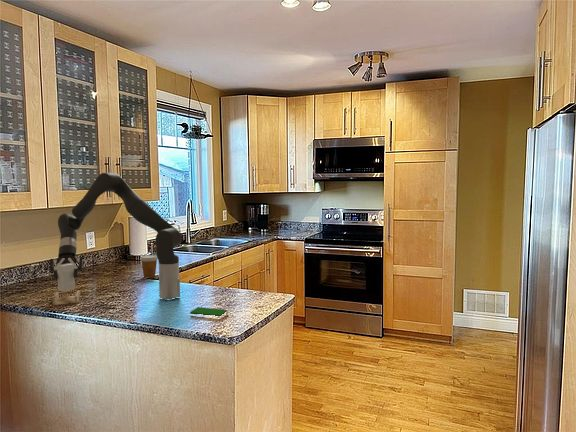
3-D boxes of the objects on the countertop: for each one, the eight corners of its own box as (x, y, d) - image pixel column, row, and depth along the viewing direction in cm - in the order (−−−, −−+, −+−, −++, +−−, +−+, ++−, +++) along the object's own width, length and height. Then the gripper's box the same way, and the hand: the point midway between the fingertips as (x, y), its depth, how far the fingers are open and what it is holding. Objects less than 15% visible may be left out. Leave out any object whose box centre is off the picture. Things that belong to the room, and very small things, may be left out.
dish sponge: (197, 312, 177) (197, 306, 177) (227, 315, 173) (227, 309, 173) (189, 317, 170) (189, 312, 170) (220, 321, 166) (220, 315, 166)
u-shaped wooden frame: (80, 296, 198) (79, 290, 197) (77, 302, 188) (77, 296, 187) (56, 298, 194) (56, 292, 194) (52, 305, 184) (52, 298, 184)
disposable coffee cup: (160, 275, 241) (160, 254, 240) (153, 279, 231) (153, 258, 230) (145, 274, 242) (144, 254, 241) (137, 278, 232) (137, 257, 231)
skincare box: (70, 287, 195) (69, 262, 194) (75, 288, 193) (74, 263, 191) (57, 290, 190) (56, 265, 188) (62, 292, 187) (61, 266, 186)
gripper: (49, 245, 193) (46, 275, 184) (83, 243, 198) (82, 272, 189) (52, 254, 199) (49, 283, 189) (84, 252, 204) (83, 281, 194)
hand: (65, 278), depth 189 cm, fingers closed on skincare box, 7 cm apart
